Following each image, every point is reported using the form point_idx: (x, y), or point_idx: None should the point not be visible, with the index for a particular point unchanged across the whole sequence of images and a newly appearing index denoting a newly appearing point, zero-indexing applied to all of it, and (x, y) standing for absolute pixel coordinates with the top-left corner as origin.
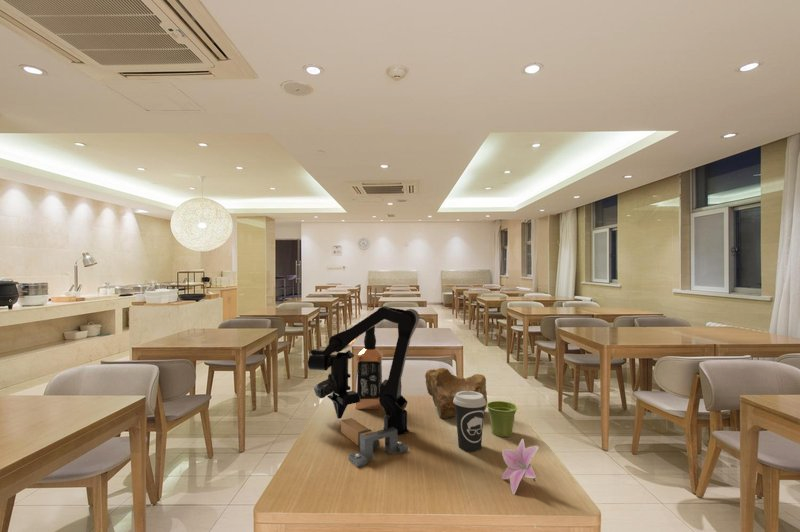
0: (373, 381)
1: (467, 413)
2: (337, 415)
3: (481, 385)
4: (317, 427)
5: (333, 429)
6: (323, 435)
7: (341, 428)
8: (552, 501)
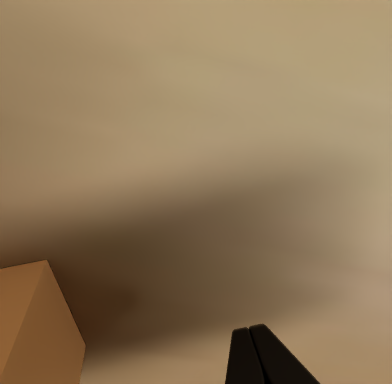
0: None
1: None
2: (253, 355)
3: None
4: (319, 38)
5: (161, 206)
6: (6, 51)
7: (25, 293)
8: None
